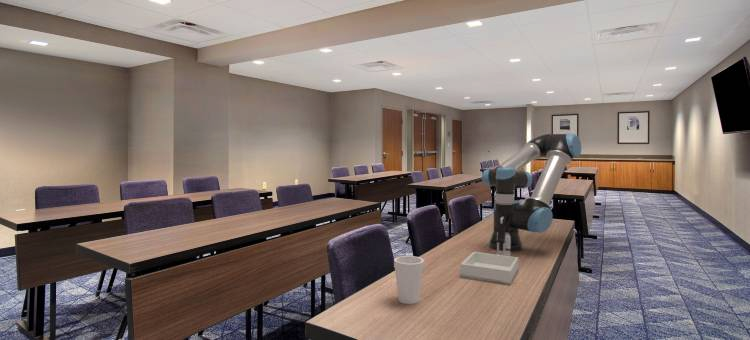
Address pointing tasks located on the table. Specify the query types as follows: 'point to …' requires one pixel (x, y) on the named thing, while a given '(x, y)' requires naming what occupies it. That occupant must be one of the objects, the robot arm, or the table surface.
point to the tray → (490, 268)
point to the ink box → (506, 244)
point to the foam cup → (408, 278)
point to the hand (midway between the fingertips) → (503, 254)
